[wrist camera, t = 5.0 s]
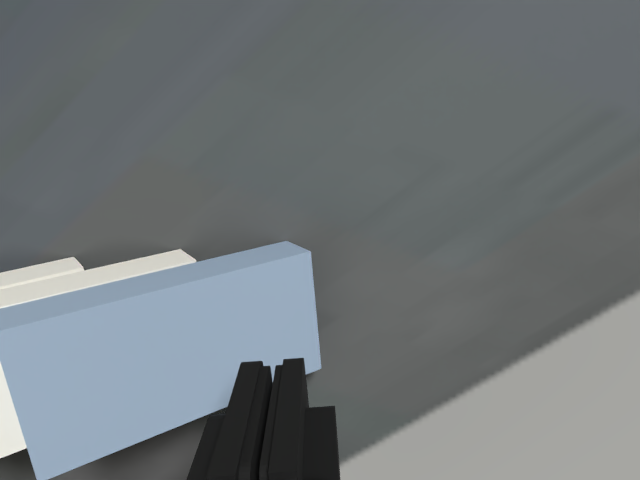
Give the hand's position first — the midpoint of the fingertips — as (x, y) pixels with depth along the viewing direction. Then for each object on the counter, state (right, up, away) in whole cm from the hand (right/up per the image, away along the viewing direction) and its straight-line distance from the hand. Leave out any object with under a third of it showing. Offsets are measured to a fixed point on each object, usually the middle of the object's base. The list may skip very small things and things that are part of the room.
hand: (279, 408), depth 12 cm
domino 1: (0, +2, +7) cm, 7 cm away
